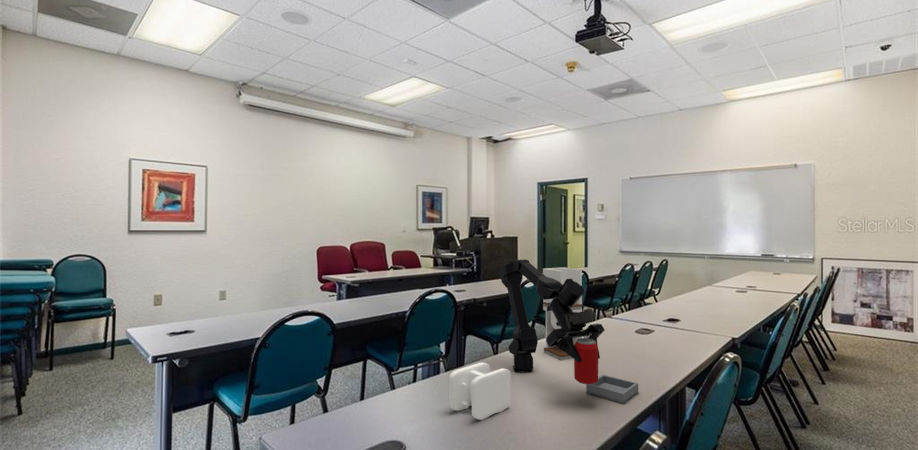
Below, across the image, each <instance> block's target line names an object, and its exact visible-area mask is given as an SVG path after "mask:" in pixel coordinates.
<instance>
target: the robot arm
mask: <svg viewBox="0 0 918 450" xmlns="http://www.w3.org/2000/svg"><path fill="white" fill-rule="evenodd" d="M498 275H499V277H500V281H501V283H502V284H503V285H504V286H505V288H506V289H507V294H508V298H509V303H510V308H511V314H512V318H513V323H514V329H513V333H512V341H511V343H510V344H509V345H508V351H509V353H510V354H512V356H513V358H512V359H513V360H512V361H513V362H512V363H513V364H512V368H513V372H514V373H534V372H533V370H534V357H533V356H532V354H535V353H536V352H537V348H538V344H539V342H538V339H539V338H538V336H537V330H536V328H535V327H531V325H530V324H529V321H528V320H529V319H528V316H527V311H526V307H525V303H524V298H523V292H522V289H521V285H522V282H523V277H524V278H526V279H527V280H528V281H529V282H530V283H531V284H533V286H534V287H535V289H536V292H537V295H538V296H539V297H540V298H541V299H542V300H543V299H544V300H547V299H553V300H552V301H551V302H550V303H548V306H547V311H552V312H553V314H554V315H555V317H556V319H557V321H558V322H557V323H556V325H557V326H560V327H561V329H553V330H552V332H551V333H550V334H549V335H548V336H547V338H546V337H545V343H546V342H547V344H548V346H549V347H553V346H556V348H559V349H561V350H562V351H564V352H565V353H567V354H568V355H569V356H571V357H572V358H573V360H574V359H575V360H576V361H577V362H578V363H580V362H581V358H580V356H579V354H578V352H577V350H576V348H575V346H574V344H573V338H577V337H582V338H588V339H593V340H595V341H596V344H597V346H598V338H599V337H600V336H601V335H602V334H603V333H604V332H605V331H606V329H605V328H604V326H603V324H602V323H593V324H592V322H594V320H595V319H596V314H595V311H594V310H593V309H592V308H586V309H584V310H582V312H578V313H577V312H573V310H572V309H571V307H570V306H574V305H575V304H576V303H577V301H578V300H579V299H580V298H581V296H582V297H583V295H584V294H585V289H584V287H583V285H582V286H581V285H580V284H578V283H577V282H574V281H573V280H572V279H566V280H565V282H564V284H563V285H562V284H561V283H560V282H559V281H557V280H555V279H553V278H549V277H546V276H545V275H544V274H543V272H541V270H539V269H537V267H535V266H534V265H533V264H532V263H530V261H529V260H528V259H525V258H524V259H516V260H514V261H513V262H510V263H507V264H502V265H501V267H500V268H499V270H498ZM587 323H591V324H589V325H588V326H587ZM586 326H587V327H586ZM585 327H586V328H585ZM584 328H585V329H584ZM557 344H558V345H557ZM598 347H599V346H598ZM599 351H600V350H599V349H598V360H599V359H600V358H601V355H600V352H599Z"/></svg>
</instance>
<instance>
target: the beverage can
mask: <svg viewBox="0 0 918 450" xmlns="http://www.w3.org/2000/svg"><path fill="white" fill-rule="evenodd" d="M597 345H598V343H597V344H596V341H595V340H593V339H588V338H584V337H582V338H579V339H577V341H576V343H575V345H574V346H575V348H576V350H577V352H578V354H579V356H580V358H581V362H580V363H578V362H577V361H576V360H575V359H573V363H574V365H573V367H574V371H573V372H574V373H573V378H574V379H575V381H577V382H578V383H580V384H583V385H586V384H588V385H589V384H594V383H595V382H597V381H598V377H599V359H598V350H599V346H597Z"/></svg>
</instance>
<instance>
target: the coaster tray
mask: <svg viewBox="0 0 918 450" xmlns="http://www.w3.org/2000/svg"><path fill="white" fill-rule="evenodd" d="M585 385H586V390H585V391H586V395H589V396H594V397H596V398H600V399H604V400H607V401H611V402H614V403H618V404H621V405H624V404H626V403H627V402H628V401H630V400H632V398H634V397H635V396H637V394H639V382H634V381H632V380H631V381H630V380H627V379H623V378H619V377H618V378H617V377H614V376H612V375H611V376H610V375H606V374H601V375H598V381H597V382H595V383H594V384H589V385H588V384H585Z"/></svg>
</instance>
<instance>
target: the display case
mask: <svg viewBox="0 0 918 450" xmlns="http://www.w3.org/2000/svg"><path fill="white" fill-rule="evenodd" d="M582 271H583V270H582V269H577V268H570V267H551V268H549V267H547V268H546V267H545V268H542V274H544V275H545V276H546V277H549V278H553V279H555V280H557V281H559V282H560V283H561V284H562V285H563V284H564V282H565V280H566V279H572V280H573V281H574V282H577V283H578V284H580V285H581V286H582V287H583V284H582V283H583V272H582ZM542 300H543V304H542V310H543V311H545V339H546V338H547V336H548V335H549V334H550V333H551V332H552V330H553V329H561V327H560V326H557V325H556V323H557V322H558V321H557V319H556V317H555V315H554V314H553V312H552V311H547V306H548V303H550V302H551V301H552V300H553V299H547V300H544V299H542ZM570 307H571V309H572V310H573V312H577V313H578V312H583V295H582V296H581V298H580V299H579V300H578V301H577V303H576V304H575V305H574V306H570ZM579 338H583V337H577V338H573V344H574V345H575V343H576V341H577V339H579ZM557 345H558V344H557ZM543 354H546V355H548V356H550V357H553V358H555V359H557V360H559V361H567V360H572V359H573V358H572V357H571V356H569V355H568V354H567V353H565V352H564V351H562V350H561V349H559V348H556V346H553V347H549V346H548V344H547V342H546V341H545V347H543ZM573 360H574V359H573Z"/></svg>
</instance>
